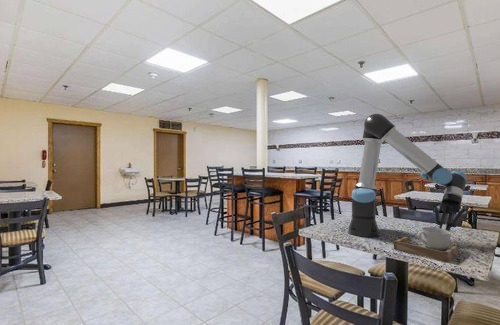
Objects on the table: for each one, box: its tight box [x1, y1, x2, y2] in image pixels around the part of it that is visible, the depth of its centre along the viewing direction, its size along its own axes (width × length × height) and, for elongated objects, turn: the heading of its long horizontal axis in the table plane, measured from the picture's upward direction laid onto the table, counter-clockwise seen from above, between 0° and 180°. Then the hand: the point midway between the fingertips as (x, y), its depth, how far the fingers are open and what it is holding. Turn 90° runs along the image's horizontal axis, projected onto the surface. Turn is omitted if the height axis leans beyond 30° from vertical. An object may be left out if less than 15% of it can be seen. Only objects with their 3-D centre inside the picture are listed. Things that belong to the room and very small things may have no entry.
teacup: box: [417, 226, 452, 251], centre depth 118 cm, size 14×11×8 cm
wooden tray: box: [393, 236, 459, 263], centre depth 112 cm, size 13×19×4 cm
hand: (442, 237), depth 121 cm, fingers closed
